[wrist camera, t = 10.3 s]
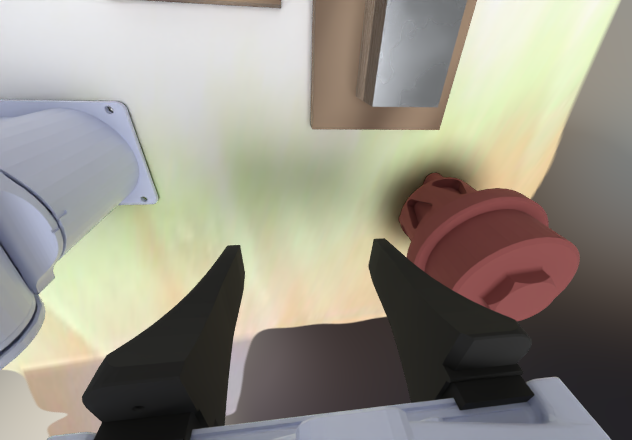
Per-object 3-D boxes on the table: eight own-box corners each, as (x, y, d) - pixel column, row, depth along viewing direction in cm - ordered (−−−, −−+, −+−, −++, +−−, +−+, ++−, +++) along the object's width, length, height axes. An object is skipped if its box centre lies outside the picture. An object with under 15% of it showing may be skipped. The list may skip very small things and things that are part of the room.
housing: (355, 96, 18) (372, 106, 14) (370, -44, 14) (397, -74, 11) (409, 97, 18) (437, 107, 15) (438, -39, 14) (484, -65, 11)
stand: (310, 124, 20) (312, 129, 19) (314, -84, 14) (317, -98, 13) (429, 125, 21) (439, 129, 20) (481, -68, 15) (499, -79, 14)
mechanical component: (377, 247, 28) (381, 162, 22) (463, 234, 28) (489, 147, 23) (431, 359, 18) (464, 254, 12) (565, 336, 18) (657, 224, 13)
